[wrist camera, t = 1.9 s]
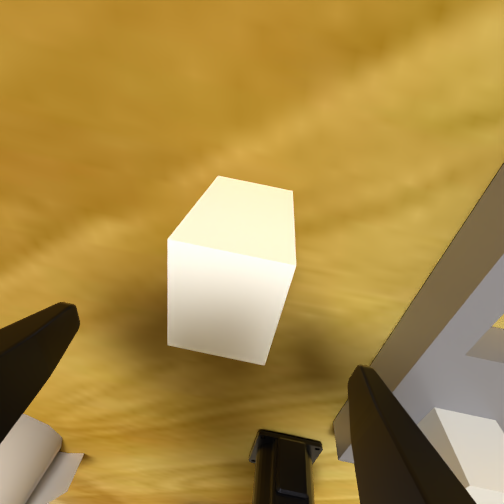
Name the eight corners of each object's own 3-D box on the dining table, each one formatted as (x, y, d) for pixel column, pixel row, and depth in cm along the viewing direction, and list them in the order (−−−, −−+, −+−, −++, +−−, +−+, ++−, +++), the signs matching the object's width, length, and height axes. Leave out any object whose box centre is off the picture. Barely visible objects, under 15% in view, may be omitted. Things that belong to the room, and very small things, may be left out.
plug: (272, 267, 17) (264, 365, 11) (210, 254, 17) (167, 345, 11) (292, 190, 14) (296, 265, 8) (218, 175, 14) (167, 238, 8)
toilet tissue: (98, 458, 36) (50, 553, 29) (3, 441, 37) (-67, 529, 29) (83, 424, 31) (21, 527, 24) (-25, 404, 32) (-119, 499, 24)
